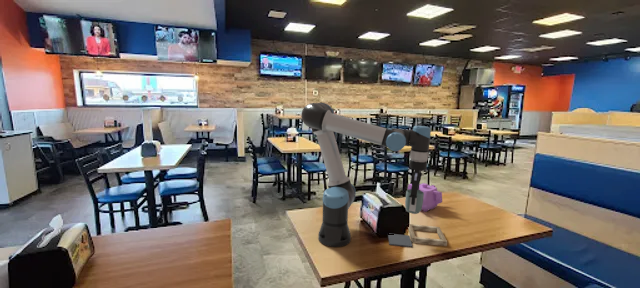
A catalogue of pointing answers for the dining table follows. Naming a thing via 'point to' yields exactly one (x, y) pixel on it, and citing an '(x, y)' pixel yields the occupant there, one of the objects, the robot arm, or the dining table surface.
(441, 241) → the holder
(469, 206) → the dining table surface
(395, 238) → the coaster
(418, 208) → the cup
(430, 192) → the teapot
